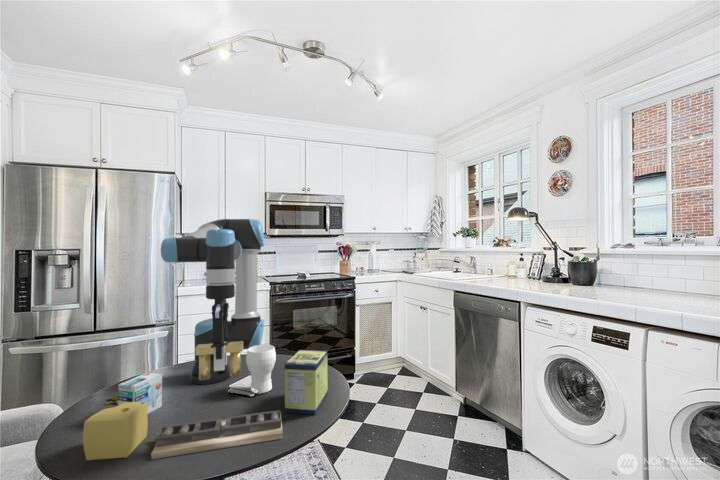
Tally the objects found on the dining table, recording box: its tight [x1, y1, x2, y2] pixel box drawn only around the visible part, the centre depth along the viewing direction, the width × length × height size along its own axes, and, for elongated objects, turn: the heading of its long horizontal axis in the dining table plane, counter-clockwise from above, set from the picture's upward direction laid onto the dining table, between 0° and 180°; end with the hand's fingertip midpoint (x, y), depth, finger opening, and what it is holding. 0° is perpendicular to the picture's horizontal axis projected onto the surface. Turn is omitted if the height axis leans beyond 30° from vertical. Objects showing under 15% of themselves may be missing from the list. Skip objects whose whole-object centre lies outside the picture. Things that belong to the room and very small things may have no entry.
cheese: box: [82, 402, 149, 461], centre depth 89 cm, size 10×11×10 cm
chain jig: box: [150, 409, 284, 460], centre depth 94 cm, size 12×32×4 cm, turn 106°
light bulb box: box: [117, 372, 163, 415], centre depth 107 cm, size 11×7×11 cm, turn 166°
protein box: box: [284, 349, 329, 416], centre depth 113 cm, size 10×16×16 cm
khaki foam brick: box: [196, 341, 244, 380], centre depth 94 cm, size 4×12×9 cm, turn 105°
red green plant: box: [104, 393, 118, 406], centre depth 118 cm, size 12×12×5 cm
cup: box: [245, 344, 277, 394], centre depth 124 cm, size 11×11×15 cm
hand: (220, 367), depth 94 cm, fingers closed on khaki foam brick, 3 cm apart
